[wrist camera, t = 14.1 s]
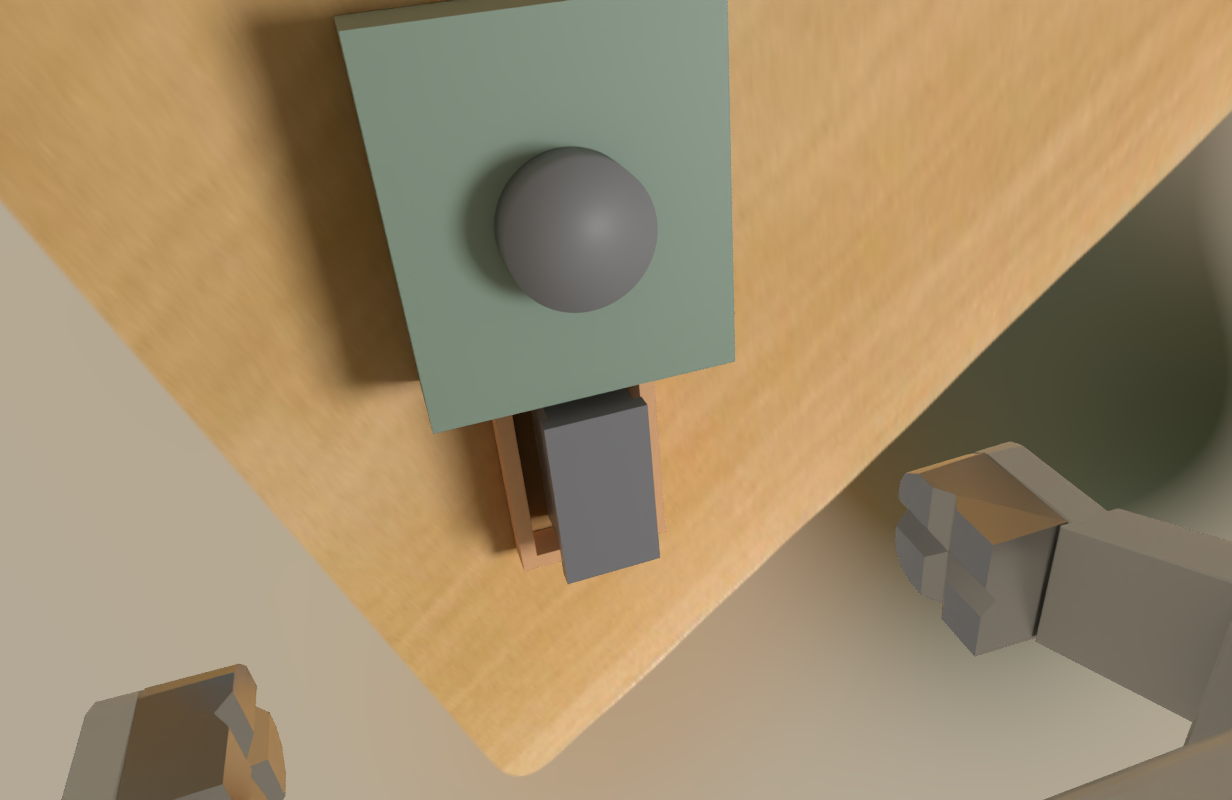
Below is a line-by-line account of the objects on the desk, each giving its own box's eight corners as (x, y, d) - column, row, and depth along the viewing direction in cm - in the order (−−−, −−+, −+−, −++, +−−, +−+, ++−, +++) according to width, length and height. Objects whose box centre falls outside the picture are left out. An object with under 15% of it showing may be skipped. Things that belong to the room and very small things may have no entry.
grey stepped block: (609, 350, 44) (647, 404, 39) (623, 493, 48) (660, 557, 44) (516, 371, 43) (543, 430, 38) (540, 515, 47) (567, 584, 43)
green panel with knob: (677, -29, 36) (750, -18, 30) (702, 497, 50) (755, 574, 44) (333, 16, 33) (341, 38, 27) (462, 563, 47) (485, 655, 41)
